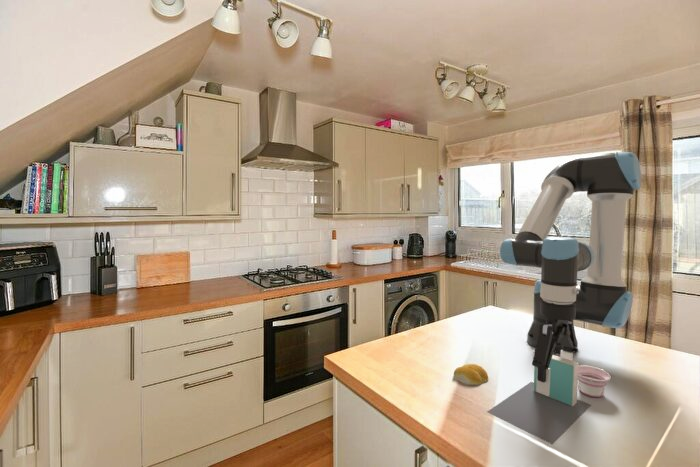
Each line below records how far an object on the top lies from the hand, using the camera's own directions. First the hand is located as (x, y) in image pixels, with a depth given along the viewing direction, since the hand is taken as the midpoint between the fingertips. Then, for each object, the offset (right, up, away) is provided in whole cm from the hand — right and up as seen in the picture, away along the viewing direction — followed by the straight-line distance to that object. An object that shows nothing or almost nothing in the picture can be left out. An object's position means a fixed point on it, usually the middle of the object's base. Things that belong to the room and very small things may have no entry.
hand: (554, 384), depth 85 cm
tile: (0, -3, 0) cm, 3 cm away
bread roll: (-17, -4, +10) cm, 21 cm away
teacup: (+10, -4, +2) cm, 11 cm away
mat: (-6, -4, -5) cm, 9 cm away
